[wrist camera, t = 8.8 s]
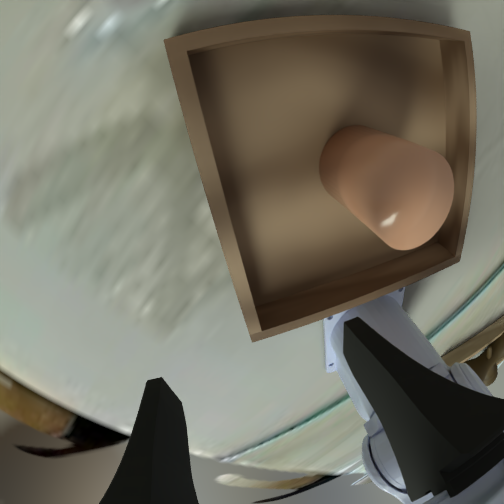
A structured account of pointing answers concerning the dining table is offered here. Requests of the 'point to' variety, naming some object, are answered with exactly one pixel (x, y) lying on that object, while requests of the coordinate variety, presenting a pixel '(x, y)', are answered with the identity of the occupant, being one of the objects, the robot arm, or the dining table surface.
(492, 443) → the robot arm
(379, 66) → the walnut tray
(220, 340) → the dining table surface
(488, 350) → the kendama
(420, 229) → the tan rounded cylinder
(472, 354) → the oak frame
